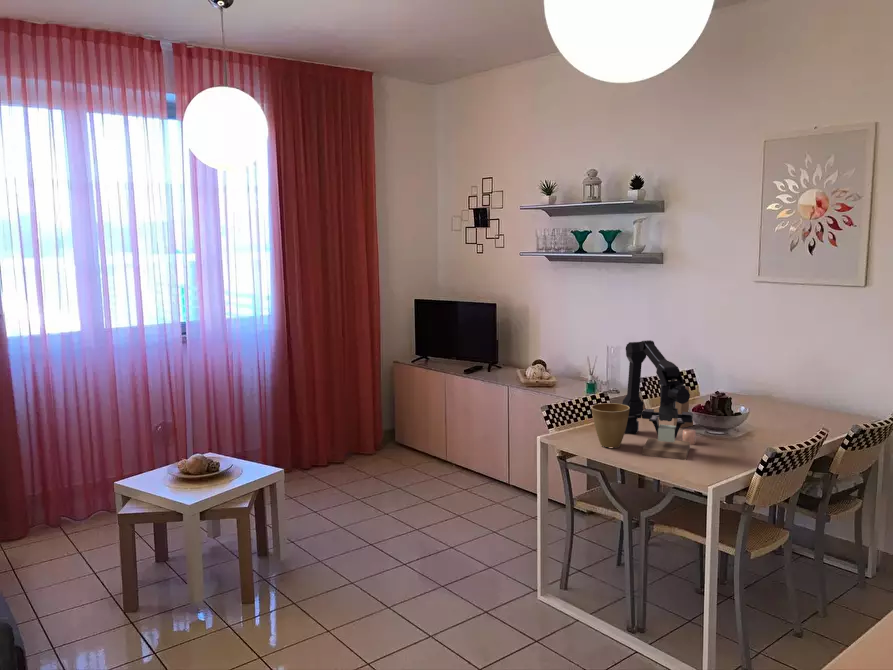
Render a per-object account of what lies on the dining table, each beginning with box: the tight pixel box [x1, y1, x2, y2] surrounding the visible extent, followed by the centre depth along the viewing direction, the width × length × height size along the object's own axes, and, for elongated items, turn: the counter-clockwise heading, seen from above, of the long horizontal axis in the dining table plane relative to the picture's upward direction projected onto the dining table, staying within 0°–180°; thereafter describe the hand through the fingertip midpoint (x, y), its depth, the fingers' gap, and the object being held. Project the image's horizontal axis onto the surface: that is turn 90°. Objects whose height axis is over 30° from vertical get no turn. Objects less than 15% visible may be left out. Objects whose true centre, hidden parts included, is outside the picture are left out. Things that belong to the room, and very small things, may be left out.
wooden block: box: [673, 385, 694, 429], centre depth 318 cm, size 9×4×18 cm, turn 119°
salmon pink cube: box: [681, 428, 697, 446], centre depth 294 cm, size 5×5×5 cm
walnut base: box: [642, 437, 691, 460], centre depth 283 cm, size 16×16×2 cm
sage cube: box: [657, 423, 677, 442], centre depth 282 cm, size 6×6×5 cm
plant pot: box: [590, 402, 630, 449], centre depth 291 cm, size 15×15×16 cm
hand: (666, 437), depth 282 cm, fingers closed on sage cube, 6 cm apart
